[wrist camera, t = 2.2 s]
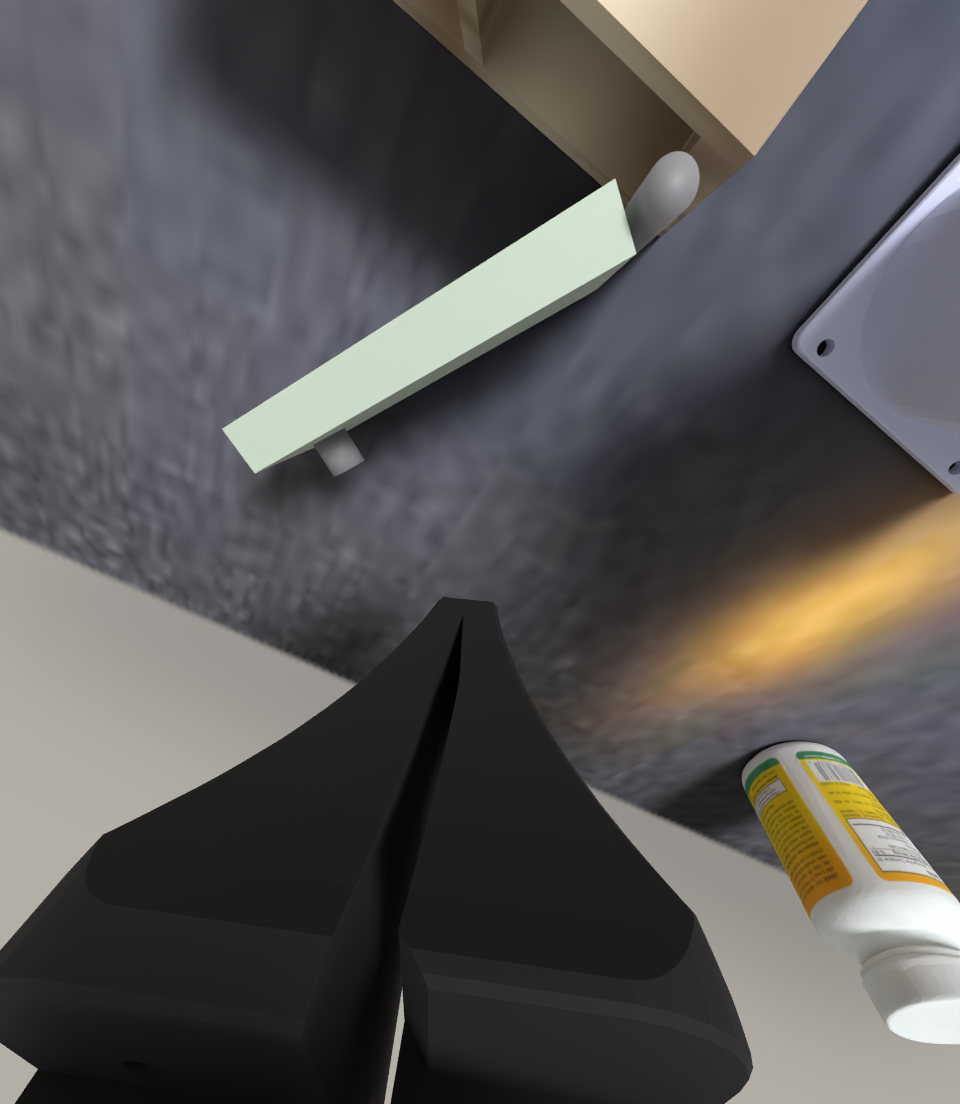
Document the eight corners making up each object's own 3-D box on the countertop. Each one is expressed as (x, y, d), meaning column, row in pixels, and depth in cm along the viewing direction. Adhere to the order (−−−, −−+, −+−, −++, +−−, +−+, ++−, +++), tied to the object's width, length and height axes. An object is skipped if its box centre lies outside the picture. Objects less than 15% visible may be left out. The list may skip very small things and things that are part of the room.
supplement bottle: (830, 726, 21) (1049, 985, 12) (851, 785, 23) (1055, 1047, 14) (725, 754, 22) (853, 1001, 14) (752, 807, 24) (880, 1055, 16)
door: (619, 220, 12) (689, 125, 7) (644, 307, 13) (721, 276, 8) (310, 407, 16) (211, 431, 11) (347, 466, 17) (273, 513, 12)
